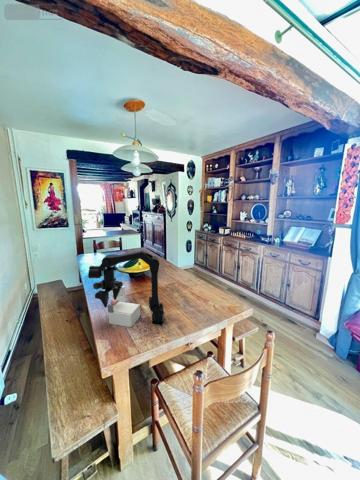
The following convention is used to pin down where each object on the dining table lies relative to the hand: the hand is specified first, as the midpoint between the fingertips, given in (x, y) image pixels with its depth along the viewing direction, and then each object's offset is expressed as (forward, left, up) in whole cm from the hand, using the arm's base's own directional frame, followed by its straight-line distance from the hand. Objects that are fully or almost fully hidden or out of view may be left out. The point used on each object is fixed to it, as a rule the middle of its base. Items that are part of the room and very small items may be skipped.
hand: (110, 303), depth 116 cm
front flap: (-6, 0, -13) cm, 14 cm away
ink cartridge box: (+9, -24, -13) cm, 29 cm away
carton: (-6, -6, -13) cm, 15 cm away
